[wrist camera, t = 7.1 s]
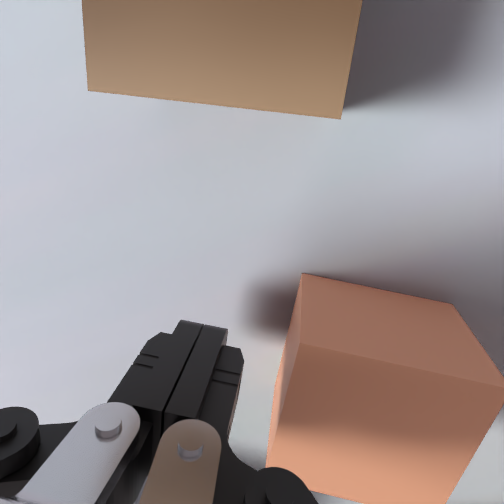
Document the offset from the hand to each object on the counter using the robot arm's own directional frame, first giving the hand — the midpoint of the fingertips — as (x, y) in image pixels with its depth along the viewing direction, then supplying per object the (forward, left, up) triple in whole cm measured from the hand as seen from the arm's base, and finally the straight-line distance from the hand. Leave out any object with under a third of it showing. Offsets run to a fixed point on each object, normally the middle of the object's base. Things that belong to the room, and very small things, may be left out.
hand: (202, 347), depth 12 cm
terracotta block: (0, +5, -2) cm, 6 cm away
